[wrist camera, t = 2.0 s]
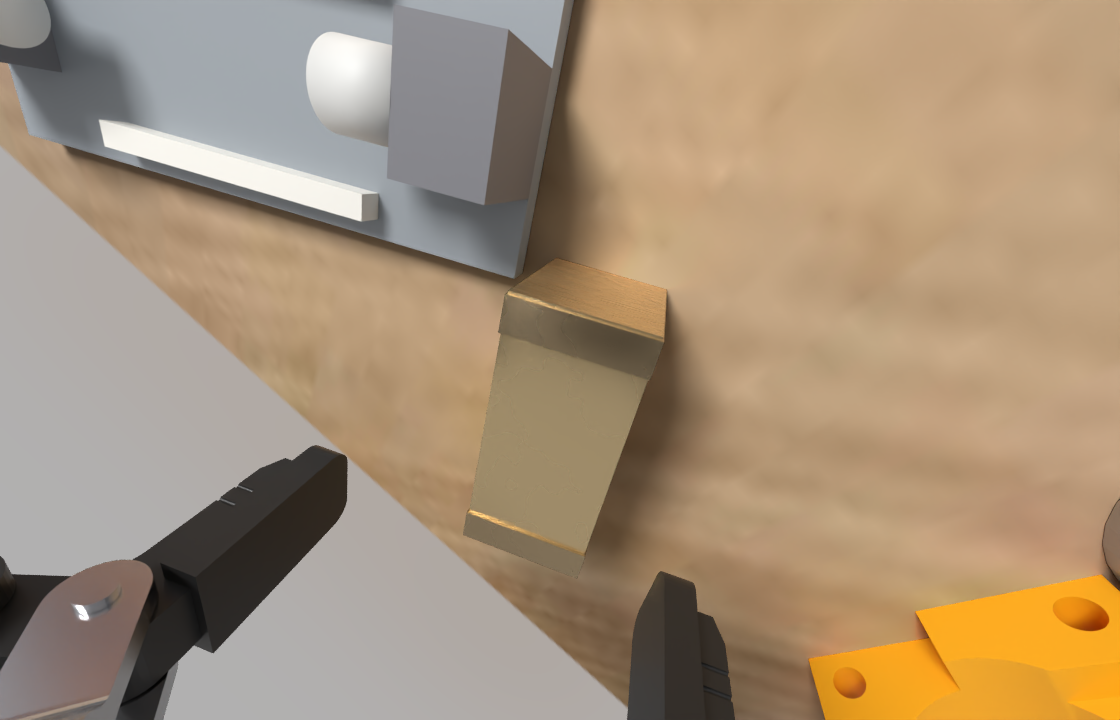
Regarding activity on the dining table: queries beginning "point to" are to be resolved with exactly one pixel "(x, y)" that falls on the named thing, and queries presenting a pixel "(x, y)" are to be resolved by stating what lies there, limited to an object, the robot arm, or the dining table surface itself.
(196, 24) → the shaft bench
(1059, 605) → the pipe clamp
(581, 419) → the tan tapered block
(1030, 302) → the dining table surface
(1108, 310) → the dining table surface
